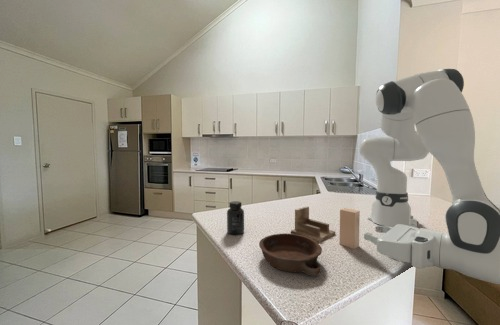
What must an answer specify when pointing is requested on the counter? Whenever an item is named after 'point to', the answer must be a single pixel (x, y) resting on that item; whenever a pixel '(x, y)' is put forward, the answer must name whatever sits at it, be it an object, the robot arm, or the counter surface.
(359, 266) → the counter surface
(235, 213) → the supplement bottle
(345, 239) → the clay block
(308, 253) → the dish
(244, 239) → the counter surface
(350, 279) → the counter surface
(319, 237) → the tan railed base plate
